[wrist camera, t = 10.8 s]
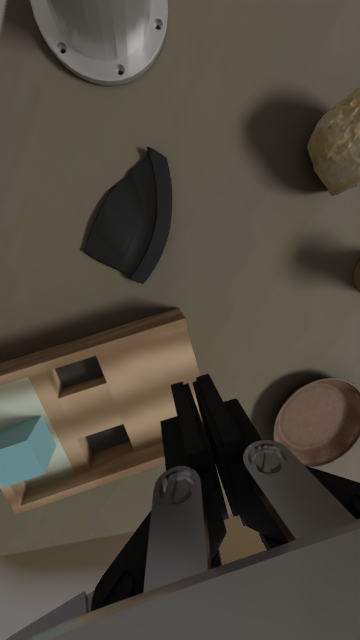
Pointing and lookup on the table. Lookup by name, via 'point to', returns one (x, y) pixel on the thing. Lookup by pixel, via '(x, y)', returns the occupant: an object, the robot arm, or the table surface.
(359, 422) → the saucer
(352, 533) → the robot arm
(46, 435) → the teal block
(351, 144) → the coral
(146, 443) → the box
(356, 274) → the cork
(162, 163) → the fan shaped piece
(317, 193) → the table surface
